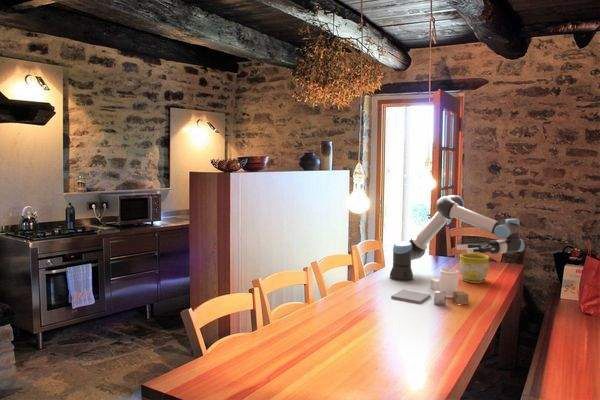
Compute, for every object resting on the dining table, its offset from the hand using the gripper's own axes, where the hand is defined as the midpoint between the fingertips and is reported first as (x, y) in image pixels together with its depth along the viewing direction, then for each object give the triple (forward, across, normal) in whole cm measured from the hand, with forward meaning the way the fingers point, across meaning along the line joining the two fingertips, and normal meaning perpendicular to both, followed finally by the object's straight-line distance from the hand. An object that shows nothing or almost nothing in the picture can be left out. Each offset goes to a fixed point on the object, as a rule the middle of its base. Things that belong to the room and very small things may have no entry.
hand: (461, 249), depth 289 cm
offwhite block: (+10, +14, -26) cm, 31 cm away
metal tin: (+20, -14, -27) cm, 36 cm away
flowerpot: (-22, +32, -27) cm, 47 cm away
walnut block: (+8, -13, -28) cm, 32 cm away
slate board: (+31, -1, -26) cm, 41 cm away
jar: (+9, +1, -27) cm, 28 cm away
